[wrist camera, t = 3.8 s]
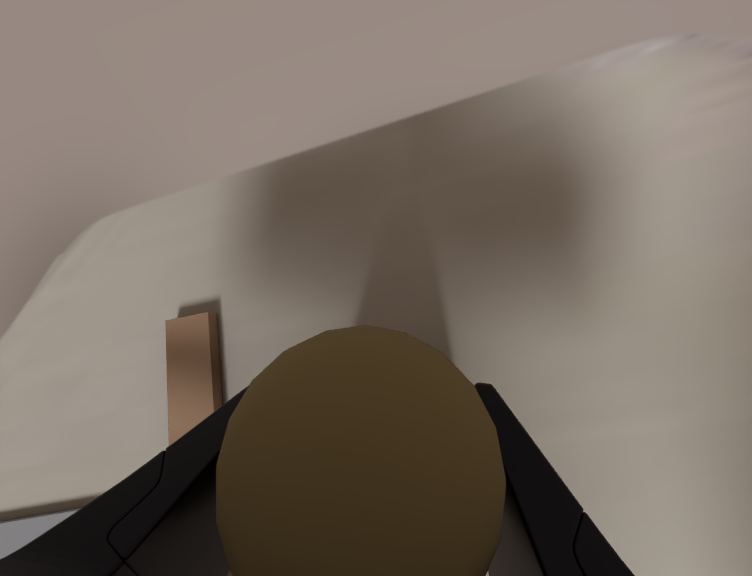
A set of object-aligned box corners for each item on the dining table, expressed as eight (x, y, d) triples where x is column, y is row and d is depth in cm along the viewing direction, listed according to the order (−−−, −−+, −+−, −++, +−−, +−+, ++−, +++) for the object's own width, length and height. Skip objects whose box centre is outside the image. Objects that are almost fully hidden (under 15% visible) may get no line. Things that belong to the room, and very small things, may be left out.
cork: (332, 340, 16) (182, 285, 6) (458, 344, 16) (549, 289, 5) (323, 476, 15) (100, 734, 4) (460, 487, 14) (595, 827, 4)
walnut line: (248, 792, 14) (237, 818, 13) (192, 798, 14) (179, 824, 13) (216, 313, 18) (207, 311, 18) (175, 322, 19) (165, 320, 18)
